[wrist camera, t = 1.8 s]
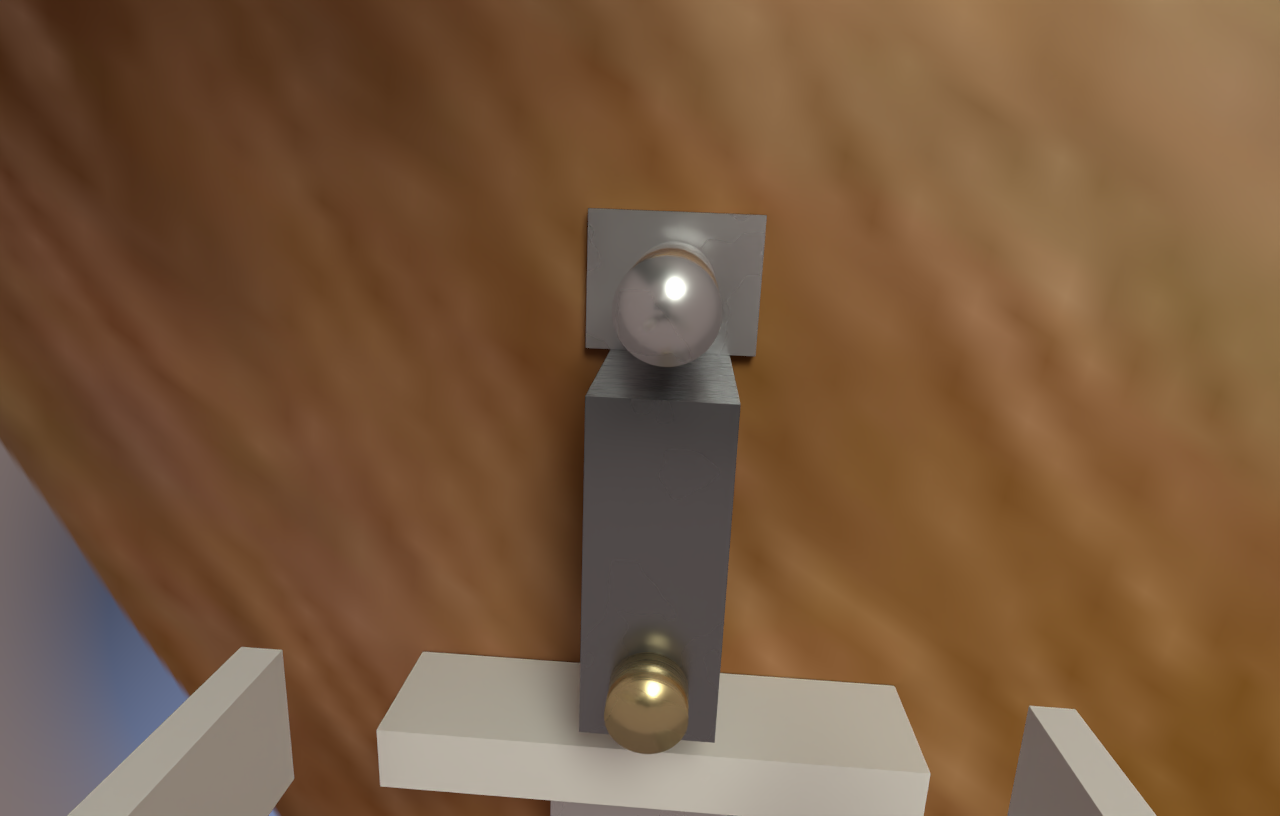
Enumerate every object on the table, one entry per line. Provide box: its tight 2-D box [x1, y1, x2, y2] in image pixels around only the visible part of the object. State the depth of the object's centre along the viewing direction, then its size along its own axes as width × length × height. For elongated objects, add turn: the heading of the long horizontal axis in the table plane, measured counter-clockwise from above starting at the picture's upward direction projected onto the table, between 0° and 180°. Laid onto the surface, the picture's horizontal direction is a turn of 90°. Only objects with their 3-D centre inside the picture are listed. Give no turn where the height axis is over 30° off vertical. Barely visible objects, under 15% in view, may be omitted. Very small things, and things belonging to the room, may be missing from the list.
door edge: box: [377, 652, 930, 816], centre depth 24 cm, size 2×16×4 cm, turn 88°
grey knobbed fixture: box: [586, 208, 767, 367], centre depth 19 cm, size 4×5×6 cm
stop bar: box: [579, 349, 740, 754], centre depth 21 cm, size 9×4×7 cm, turn 178°
